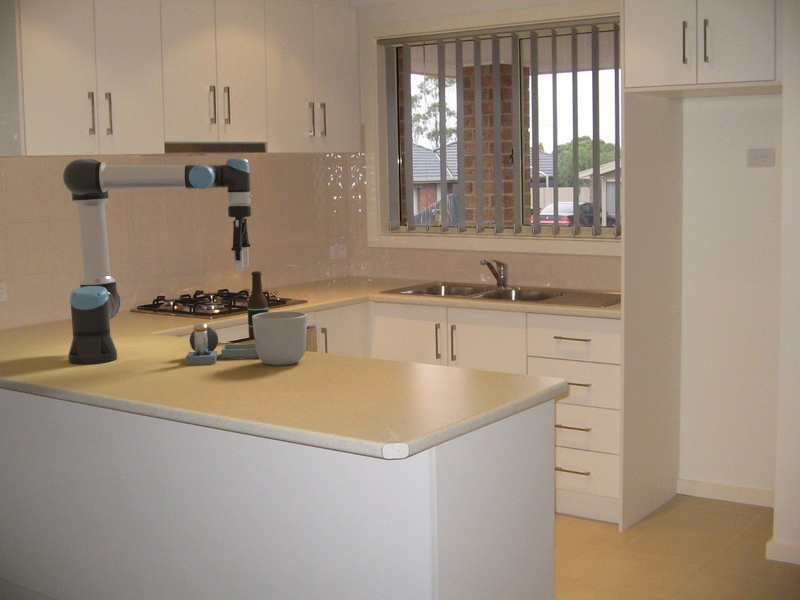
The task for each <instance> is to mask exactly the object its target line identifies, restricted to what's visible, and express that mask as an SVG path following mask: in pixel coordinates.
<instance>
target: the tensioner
mask: <svg viewBox="0 0 800 600" xmlns="http://www.w3.org/2000/svg"><path fill="white" fill-rule="evenodd" d="M207 340H208V355H204V356H195V338H194V330H193V331H192V333H191V334H190V336H189V345H190V347H191V349H192V350H193V351H189V352H188V353H187V354H186V356H185V365H186V366H195V365H196V364H201V365H215V364H216V363H217V361H218V359H219V358H218V350H216V348H217V346H218V343H219V335H218V333H217V331H216V330H215V329H214V328H213V327H211V326H208V325H207ZM217 358H218V359H217ZM214 363H215V364H214Z"/></svg>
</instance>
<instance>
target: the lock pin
mask: <svg viewBox="0 0 800 600" xmlns="http://www.w3.org/2000/svg"><path fill="white" fill-rule="evenodd" d="M207 326H208V324H207V323H195V324H193V331H194V338H195V351H194V352H195V356H204V355H208V340H207Z"/></svg>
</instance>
